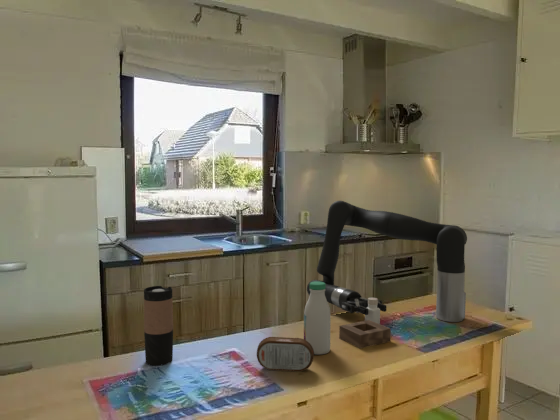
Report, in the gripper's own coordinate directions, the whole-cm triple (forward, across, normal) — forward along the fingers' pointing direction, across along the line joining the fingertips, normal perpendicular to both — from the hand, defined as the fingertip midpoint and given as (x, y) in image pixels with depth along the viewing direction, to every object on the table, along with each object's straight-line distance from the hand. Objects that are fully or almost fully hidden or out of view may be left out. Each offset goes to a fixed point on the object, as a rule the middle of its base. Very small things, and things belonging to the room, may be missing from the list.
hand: (376, 310), depth 157 cm
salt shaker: (-2, 0, +6) cm, 7 cm away
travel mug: (-8, -71, +6) cm, 72 cm away
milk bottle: (+7, -29, +6) cm, 30 cm away
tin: (+14, -44, +6) cm, 47 cm away
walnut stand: (+7, -11, +6) cm, 14 cm away
